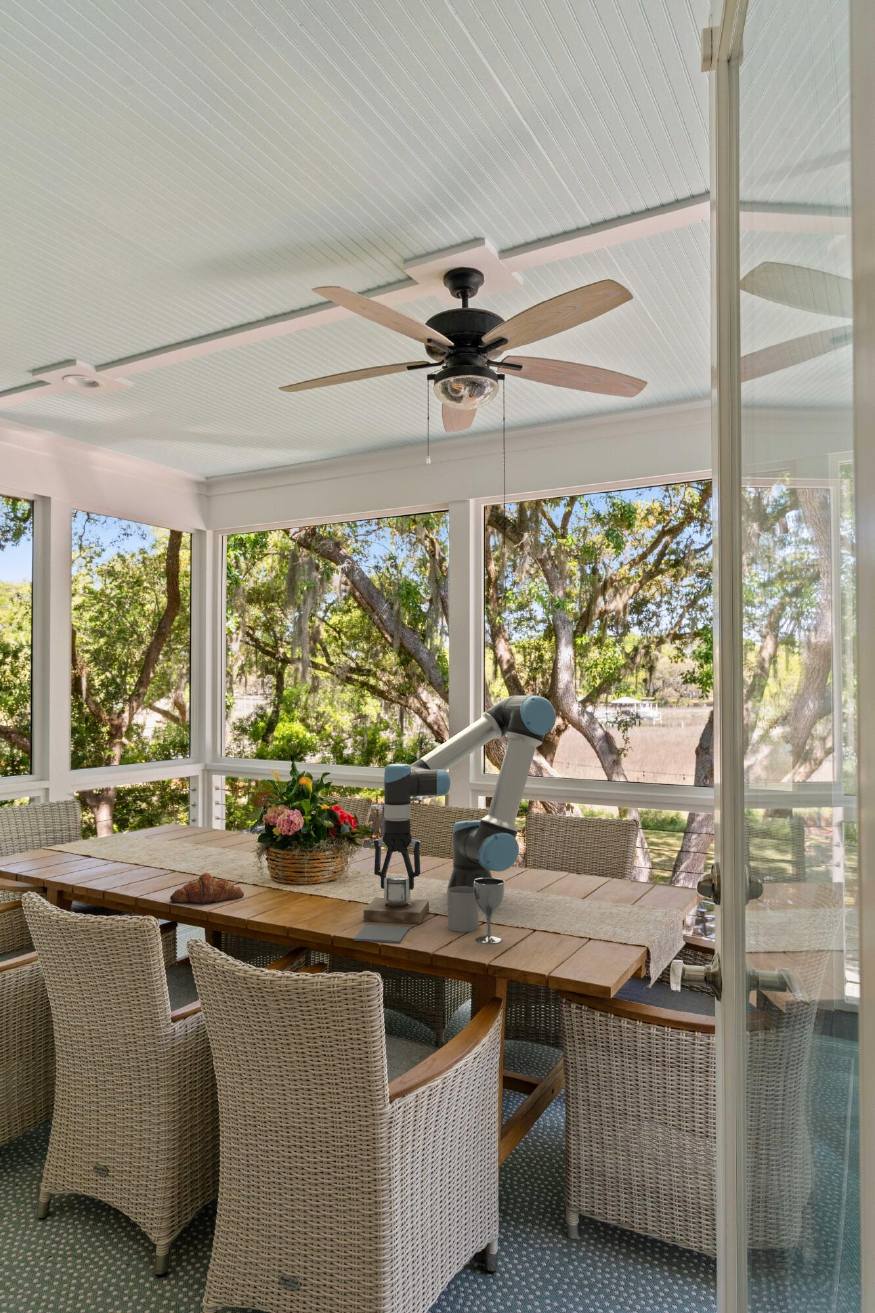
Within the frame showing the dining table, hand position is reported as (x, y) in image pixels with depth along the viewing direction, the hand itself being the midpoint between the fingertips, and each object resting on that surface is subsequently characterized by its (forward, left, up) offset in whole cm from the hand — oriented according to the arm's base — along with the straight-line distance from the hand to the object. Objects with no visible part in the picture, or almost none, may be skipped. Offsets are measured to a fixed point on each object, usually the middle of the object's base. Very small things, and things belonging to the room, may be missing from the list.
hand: (397, 900), depth 236 cm
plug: (0, 0, -4) cm, 4 cm away
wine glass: (-28, +18, -4) cm, 34 cm away
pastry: (+61, -7, -5) cm, 61 cm away
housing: (0, 0, -4) cm, 4 cm away
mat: (0, +19, -4) cm, 20 cm away
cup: (-20, +8, -5) cm, 22 cm away
